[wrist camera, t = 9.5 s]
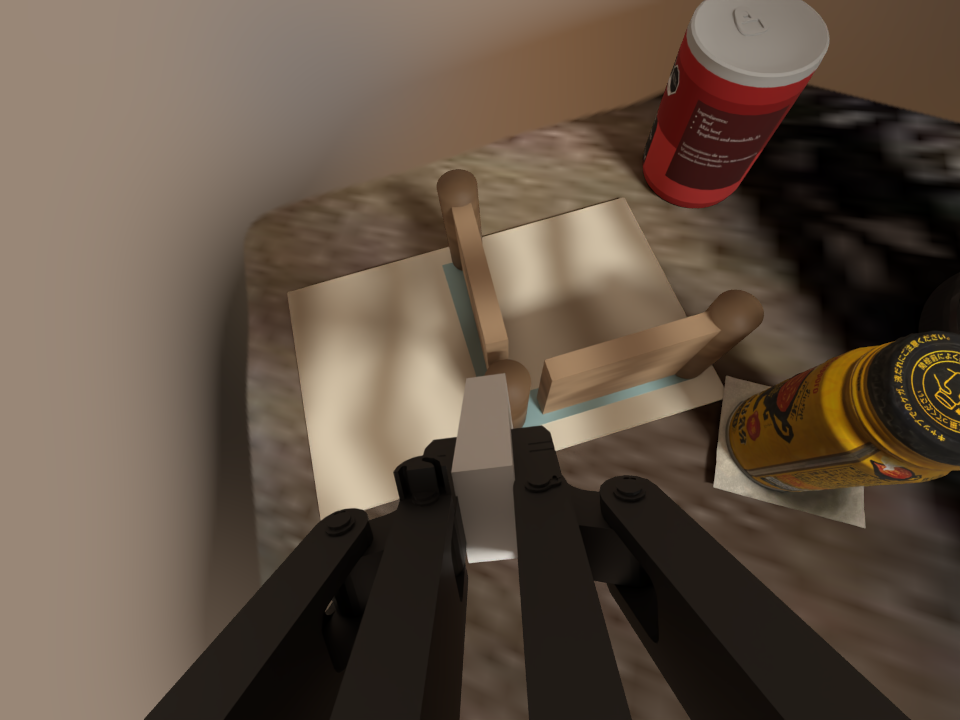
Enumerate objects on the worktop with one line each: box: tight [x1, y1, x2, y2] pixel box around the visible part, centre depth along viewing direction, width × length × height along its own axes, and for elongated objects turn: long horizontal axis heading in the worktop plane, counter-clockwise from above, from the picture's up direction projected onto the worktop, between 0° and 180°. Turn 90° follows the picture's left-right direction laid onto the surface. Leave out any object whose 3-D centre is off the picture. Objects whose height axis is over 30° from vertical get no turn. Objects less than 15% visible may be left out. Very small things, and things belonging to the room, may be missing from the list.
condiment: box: [713, 330, 960, 528], centre depth 22 cm, size 7×8×12 cm
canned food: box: [643, 0, 829, 208], centre depth 31 cm, size 8×8×11 cm
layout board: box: [287, 197, 724, 520], centre depth 31 cm, size 27×17×1 cm, turn 106°
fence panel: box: [437, 169, 508, 369], centre depth 28 cm, size 11×2×8 cm, turn 13°
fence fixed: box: [484, 290, 764, 429], centre depth 26 cm, size 15×2×8 cm, turn 106°
